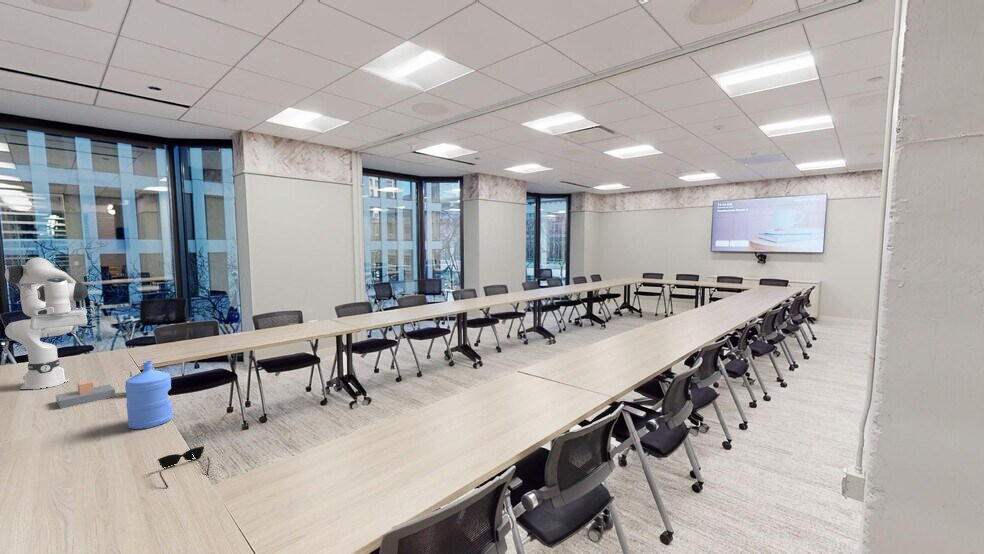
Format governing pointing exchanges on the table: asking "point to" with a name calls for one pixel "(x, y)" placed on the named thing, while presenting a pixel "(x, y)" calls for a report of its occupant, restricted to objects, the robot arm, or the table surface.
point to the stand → (84, 396)
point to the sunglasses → (175, 458)
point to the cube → (85, 387)
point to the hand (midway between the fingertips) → (60, 335)
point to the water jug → (148, 398)
